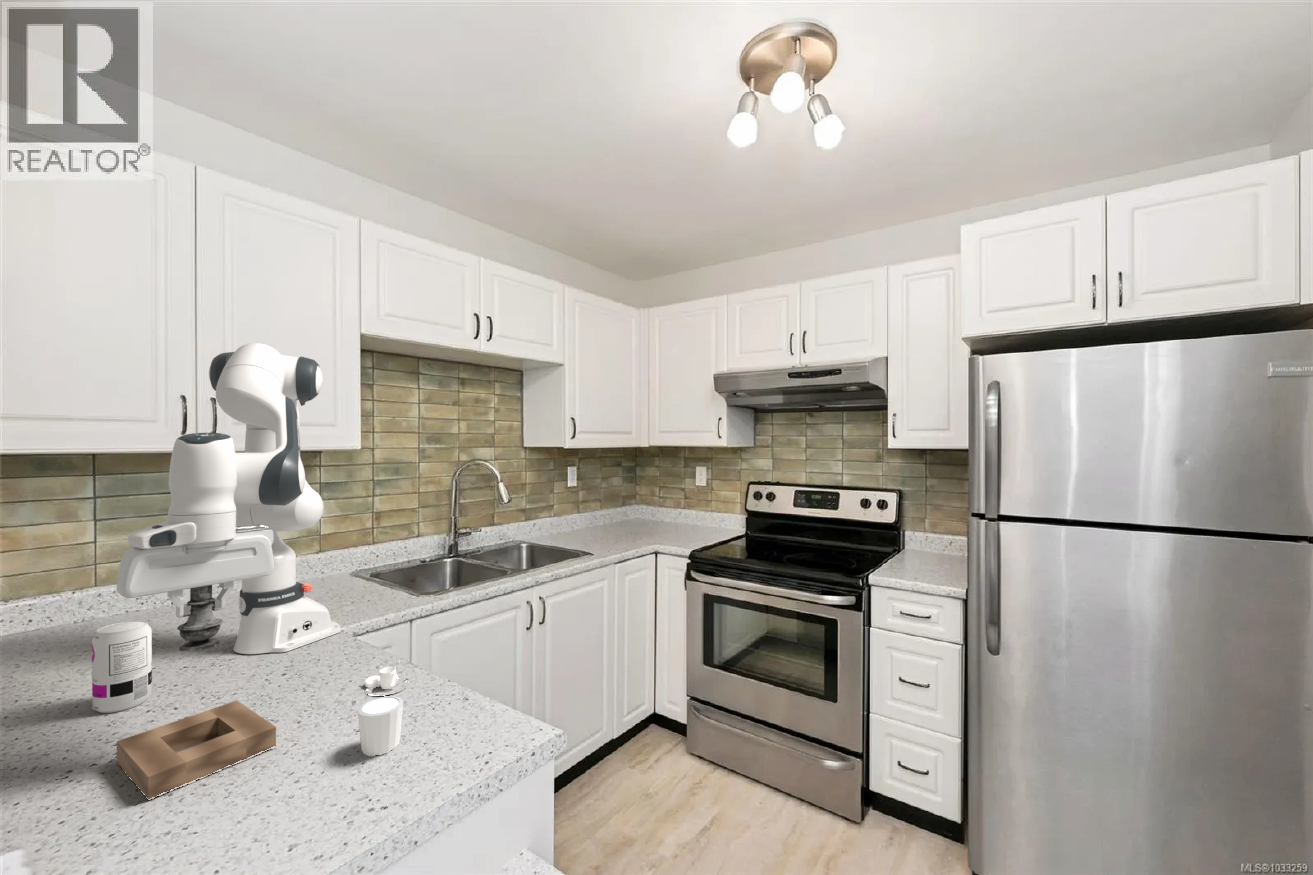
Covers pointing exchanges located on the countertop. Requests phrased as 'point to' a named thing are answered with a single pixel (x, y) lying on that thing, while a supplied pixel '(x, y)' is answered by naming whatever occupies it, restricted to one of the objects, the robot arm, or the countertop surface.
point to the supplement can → (121, 666)
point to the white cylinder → (380, 724)
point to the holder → (193, 747)
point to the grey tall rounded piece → (200, 621)
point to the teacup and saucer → (382, 679)
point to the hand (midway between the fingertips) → (200, 613)
